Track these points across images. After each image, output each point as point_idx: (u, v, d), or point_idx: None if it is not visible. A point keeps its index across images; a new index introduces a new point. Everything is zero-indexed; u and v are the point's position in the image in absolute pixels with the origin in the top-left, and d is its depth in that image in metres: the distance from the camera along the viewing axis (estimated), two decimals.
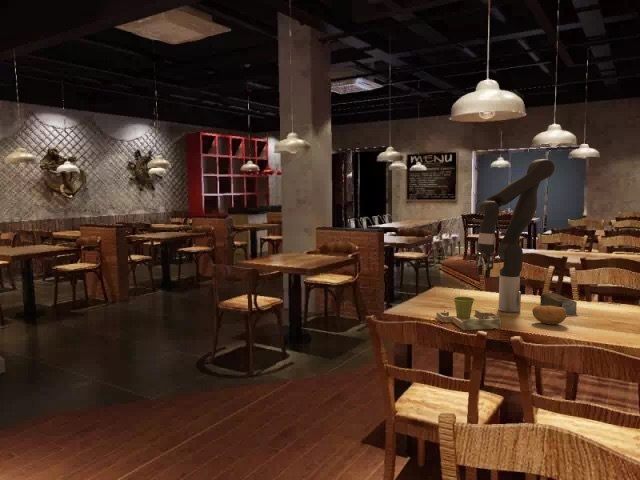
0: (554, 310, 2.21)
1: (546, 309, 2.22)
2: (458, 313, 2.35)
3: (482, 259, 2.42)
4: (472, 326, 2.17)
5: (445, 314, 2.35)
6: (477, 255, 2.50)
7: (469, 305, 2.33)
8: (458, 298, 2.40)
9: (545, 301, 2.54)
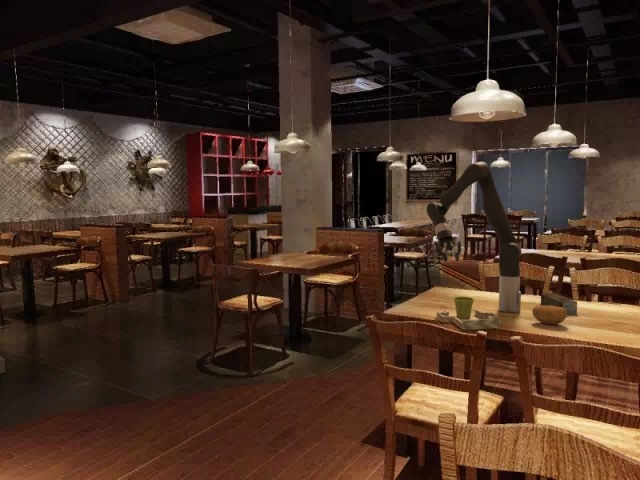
0: (554, 310, 2.21)
1: (546, 309, 2.22)
2: (458, 313, 2.35)
3: None
4: (472, 326, 2.17)
5: (445, 314, 2.35)
6: None
7: (469, 305, 2.33)
8: (458, 298, 2.40)
9: (546, 301, 2.54)
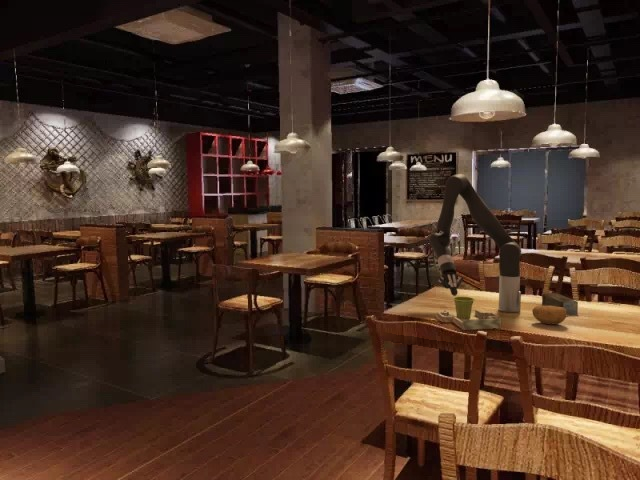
0: (554, 310, 2.21)
1: (546, 309, 2.22)
2: (458, 313, 2.35)
3: None
4: (472, 326, 2.17)
5: (445, 314, 2.35)
6: None
7: (469, 305, 2.33)
8: (458, 298, 2.40)
9: (547, 301, 2.54)
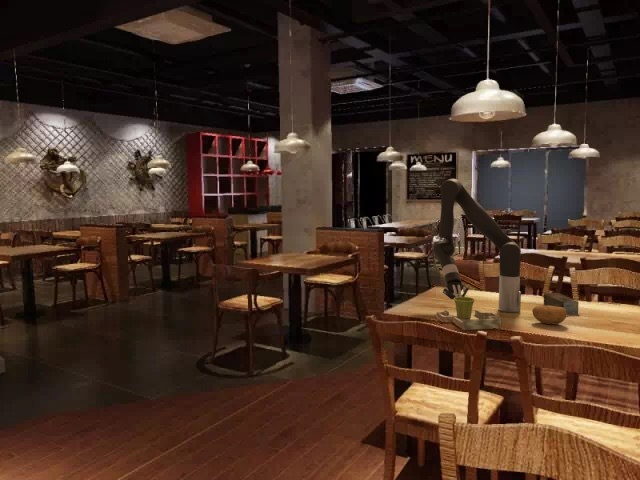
0: (554, 310, 2.21)
1: (546, 309, 2.22)
2: (458, 313, 2.35)
3: None
4: (472, 326, 2.17)
5: (445, 314, 2.35)
6: None
7: (470, 305, 2.32)
8: (458, 298, 2.40)
9: (548, 301, 2.54)
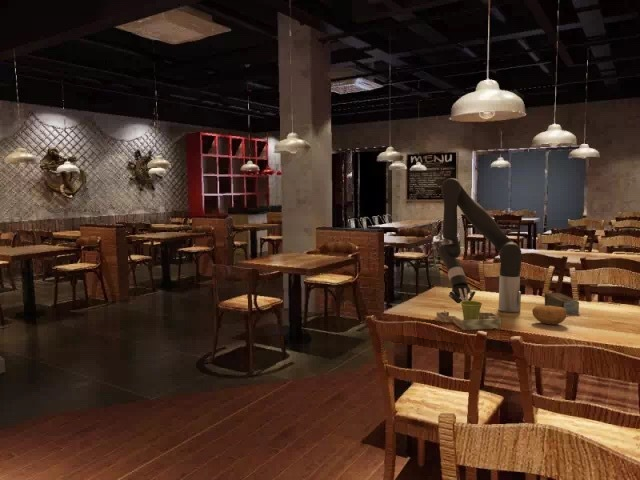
0: (554, 310, 2.21)
1: (546, 309, 2.22)
2: (466, 318, 2.27)
3: None
4: (472, 326, 2.17)
5: (445, 314, 2.35)
6: None
7: (477, 310, 2.25)
8: (465, 302, 2.32)
9: (549, 301, 2.55)
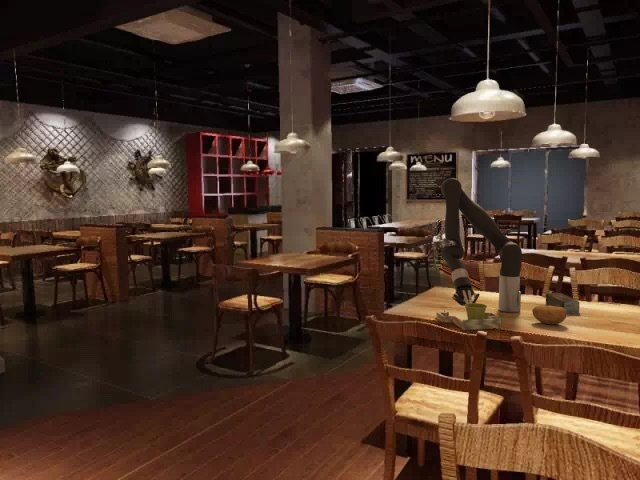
0: (554, 310, 2.21)
1: (546, 309, 2.22)
2: None
3: None
4: (472, 326, 2.17)
5: (445, 314, 2.35)
6: None
7: (482, 312, 2.20)
8: (469, 305, 2.27)
9: (550, 301, 2.55)
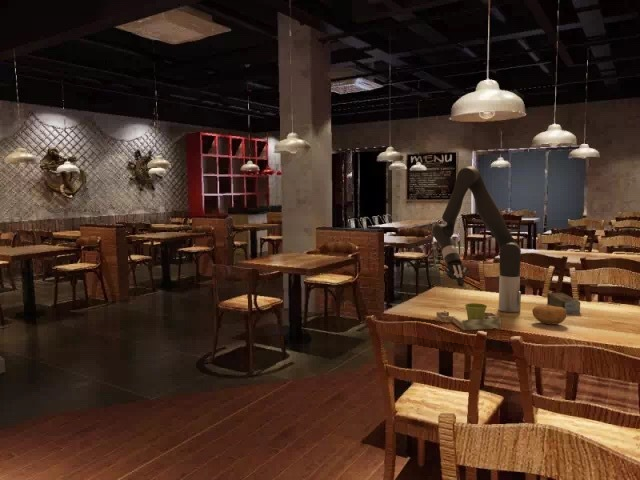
0: (554, 310, 2.21)
1: (546, 309, 2.22)
2: None
3: None
4: (472, 326, 2.17)
5: (445, 314, 2.35)
6: None
7: (482, 312, 2.20)
8: (469, 305, 2.27)
9: (551, 301, 2.55)
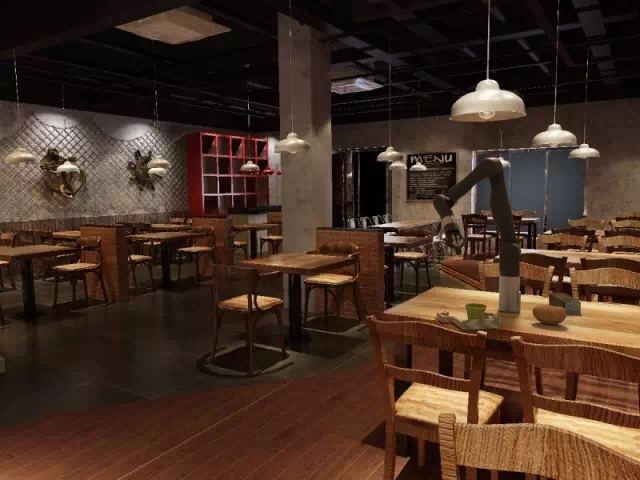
0: (554, 310, 2.21)
1: (546, 309, 2.22)
2: None
3: None
4: (472, 326, 2.17)
5: (445, 314, 2.35)
6: None
7: (482, 312, 2.20)
8: (469, 305, 2.27)
9: (552, 301, 2.55)
